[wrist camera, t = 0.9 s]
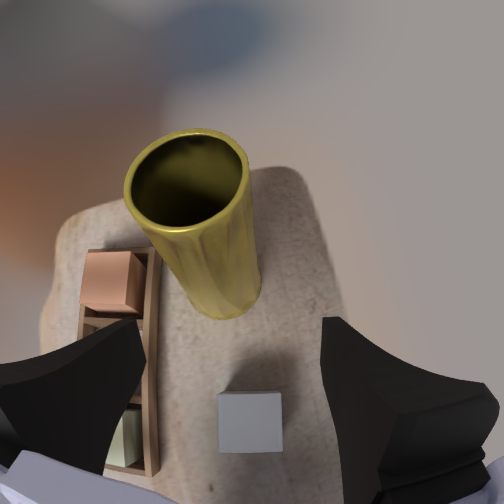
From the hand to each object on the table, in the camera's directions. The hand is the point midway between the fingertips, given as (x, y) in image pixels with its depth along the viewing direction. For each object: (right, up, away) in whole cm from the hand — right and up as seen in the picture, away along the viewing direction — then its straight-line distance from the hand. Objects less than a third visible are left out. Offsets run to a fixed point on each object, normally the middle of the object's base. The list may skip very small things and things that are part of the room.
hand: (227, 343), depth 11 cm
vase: (-1, +1, +14) cm, 14 cm away
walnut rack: (-10, -5, +11) cm, 16 cm away
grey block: (+1, -9, +9) cm, 13 cm away
